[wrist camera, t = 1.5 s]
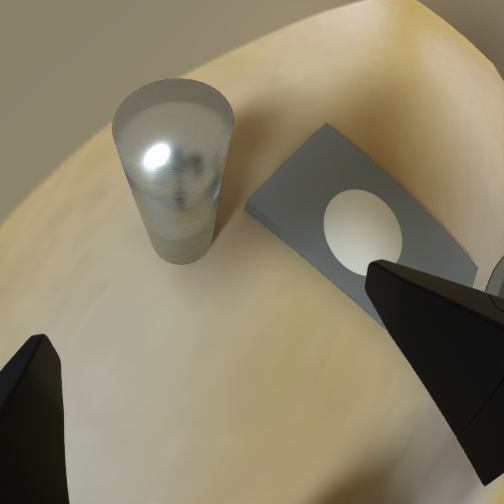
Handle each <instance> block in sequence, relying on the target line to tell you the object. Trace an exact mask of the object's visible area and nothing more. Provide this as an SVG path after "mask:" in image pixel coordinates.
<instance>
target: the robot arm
mask: <svg viewBox="0 0 504 504" xmlns="http://www.w3.org/2000/svg"><path fill="white" fill-rule="evenodd" d="M365 291H366V294H367V296H368V297H369V299H370V301H371V303H372V304H373V306H374V308H375V310H376V311H377V313H378V315H379V317H380V318H381V320H382V322H383V324H384V326H385V327H386V329H387V331H388V332H389V334H390V335H391V337H392V338H393V340H394V341H395V343H396V344H397V346H398V347H399V349H400V350H401V352H402V353H403V355H404V356H405V357H406V359H407V360H408V362H409V363H410V365H411V366H412V368H413V369H414V371H415V372H416V374H417V375H418V377H419V378H420V380H421V382H422V383H423V385H424V386H425V388H426V389H427V391H428V392H429V394H430V395H431V397H432V399H433V400H434V402H435V403H436V405H437V407H438V408H439V410H440V411H441V413H442V415H443V416H444V418H445V419H446V421H447V423H448V424H449V426H450V428H451V429H452V431H453V433H454V434H455V436H456V437H457V440H458V441H459V443H460V445H461V447H462V448H463V450H464V452H465V453H466V455H467V457H468V459H469V460H470V462H471V464H472V466H473V468H474V469H475V471H476V473H477V475H478V477H479V479H480V480H481V482H482V484H483V485H484V486H486V485H488V484H489V483H491V482H492V481H493V480H495V479H496V478H498V477H499V476H500V475H502V474H503V473H504V298H501V297H498V296H495V295H492V294H489V293H487V294H486V292H483V291H480V290H477V289H474V288H471V287H468V286H465V285H462V284H459V283H456V282H453V281H450V280H447V279H444V278H441V277H438V276H435V275H432V274H428V273H425V272H422V271H419V270H416V269H413V268H410V267H406V266H403V265H400V264H397V263H394V262H390V261H387V260H384V259H379V260H375V261H372V262H370V263H369V265H368V268H367V274H366V280H365ZM0 504H70V503H69V496H68V487H67V476H66V463H65V444H64V407H63V394H62V378H61V361H60V358H59V355H58V354H57V352H56V350H55V349H54V347H53V345H52V343H51V342H50V340H49V338H48V337H47V336H46V335H45V334H38V335H33V336H31V337H30V338H29V339H28V340H27V341H26V342H25V343H24V345H23V346H22V347H21V348H20V349H19V350H18V351H17V352H16V354H15V355H14V356H13V357H12V358H11V359H10V360H9V362H8V363H7V364H6V365H5V366H4V367H3V369H2V370H1V371H0Z"/></svg>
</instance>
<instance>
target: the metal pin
mask: <svg viewBox="0 0 504 504" xmlns="http://www.w3.org/2000/svg"><path fill="white" fill-rule="evenodd" d="M233 123H234V116H233V111H232V108H231V106H230V104H229V102H228V101H227V99H226V98H225V97H224V96H223V95H222V94H221V93H220V92H219V91H218V90H216V89H215V88H213V87H211V86H209V85H207V84H205V83H202V82H199V81H196V80H191V79H166V80H160V81H157V82H153V83H150V84H148V85H145V86H143V87H141V88H139V89H138V90H136V91H135V92H133V93H132V94H131V95H129V96H128V97H127V98H126V99H125V100H124V101H123V103H122V104H121V105H120V106H119V108H118V110H117V111H116V114H115V116H114V119H113V124H112V134H113V138H114V141H115V145H116V148H117V151H118V154H119V157H120V160H121V163H122V166H123V169H124V172H125V174H126V177H127V180H128V183H129V186H130V189H131V191H132V194H133V197H134V199H135V202H136V205H137V208H138V210H139V213H140V215H141V218H142V221H143V223H144V226H145V228H146V231H147V233H148V236H149V238H150V241H151V243H152V246H153V248H154V250H155V251H156V253H157V254H158V255H159V256H160V257H161V258H162V259H164V260H166V261H167V262H170V263H173V264H180V265H183V264H189V263H192V262H195V261H197V260H199V259H200V258H201V257H203V256H204V255H205V254H206V252H207V251H208V250H209V248H210V246H211V243H212V240H213V234H214V228H215V222H216V216H217V210H218V204H219V198H220V193H221V187H222V181H223V176H224V171H225V165H226V160H227V155H228V149H229V144H230V139H231V134H232V129H233Z"/></svg>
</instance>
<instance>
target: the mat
mask: <svg viewBox="0 0 504 504" xmlns="http://www.w3.org/2000/svg"><path fill="white" fill-rule="evenodd" d="M245 209H246V210H247V211H248V212H250V213H251V214H252V215H253V216H254V217H256V218H257V219H258V220H259V221H260V222H262V223H263V224H264V225H265V226H266V227H268V228H269V229H270V230H271V231H273V232H274V233H275V234H276V235H277V236H279V237H280V238H281V239H282V240H283V241H284V242H286V243H287V244H288V245H289V246H290V247H292V248H293V249H294V250H295V251H296V252H298V253H299V254H300V255H301V256H302V257H303V258H305V259H306V260H307V261H308V262H309V263H311V264H312V265H313V266H314V267H315V268H316V269H318V270H319V271H320V272H321V273H322V274H323V275H325V276H326V277H327V278H328V279H329V280H330V281H332V282H333V283H334V284H335V285H336V286H337V287H338V288H340V289H341V290H342V291H343V292H344V293H345V294H347V295H348V296H349V297H350V298H351V299H352V300H353V301H355V302H356V303H357V304H358V305H359V306H360V307H361V308H363V309H364V310H365V311H366V312H367V313H368V314H369V315H371V316H372V317H373V318H374V319H375V320H376V321H377V322H378V323H380V324H381V325H382V326H383V327H384V328H385V329H386V327H385V326H384V324H383V322H382V320H381V318H380V317H379V315H378V313H377V311H376V310H375V308H374V306H373V304H372V303H371V301H370V299H369V297H368V296H367V294H366V291H365V280H366V274H367V268H368V265H369V263H370V262H372V261H375V260H379V259H384V260H387V261H390V262H394V263H397V264H400V265H403V266H406V267H410V268H413V269H416V270H419V271H422V272H425V273H428V274H432V275H435V276H438V277H441V278H444V279H447V280H450V281H453V282H456V283H459V284H462V285H465V286H468V287H471V288H472V286H473V283H474V279H475V276H476V273H477V270H478V267H477V266H476V265H475V263H474V262H473V261H472V260H471V259H470V257H469V256H468V255H467V254H466V253H465V252H464V250H463V249H462V248H461V247H460V246H459V245H458V244H457V243H456V241H455V240H454V239H453V238H452V237H451V236H450V235H449V234H448V233H447V231H446V230H445V229H444V228H443V227H442V226H441V225H440V224H439V223H438V222H437V221H436V220H435V219H434V218H433V217H432V216H431V215H430V214H429V213H428V212H427V211H426V210H425V209H424V208H423V207H422V206H421V205H420V204H419V203H418V202H417V201H416V200H415V199H414V198H413V197H412V196H411V195H410V194H409V193H408V192H407V191H406V190H405V189H404V188H403V187H402V186H401V185H400V184H399V183H397V182H396V181H395V180H394V179H393V178H392V177H391V176H390V175H389V174H388V173H386V172H385V171H384V170H383V169H382V168H381V167H380V166H379V165H377V164H376V163H375V162H374V161H373V160H372V159H370V158H369V157H368V156H367V155H366V154H365V153H363V152H362V151H361V150H360V149H359V148H357V147H356V146H355V145H354V144H352V143H351V142H350V141H349V140H347V139H346V138H345V137H344V136H342V135H341V134H340V133H339V132H337V131H336V130H335V129H333V128H332V127H331V126H329V125H328V124H327V123H326V124H325V125H323V126H322V127H321V128H320V129H319V130H318V131H317V132H316V133H315V134H314V135H313V136H312V137H311V138H310V139H309V140H308V141H307V142H306V143H305V144H304V145H303V146H302V147H301V148H300V149H299V150H298V151H297V152H296V153H295V154H294V155H293V156H292V157H291V158H290V159H289V160H288V161H287V162H285V163H284V164H283V165H282V166H281V167H280V168H279V169H278V170H277V171H276V172H275V173H274V174H273V175H272V176H271V177H270V178H269V179H268V180H267V181H266V182H265V183H264V185H263V186H262V187H261V188H260V189H259V190H258V191H257V192H256V193H255V194H254V195H253V196H252V197H251V198H250V199H249V200H248V201H247V203H246V206H245ZM386 330H387V329H386Z"/></svg>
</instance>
